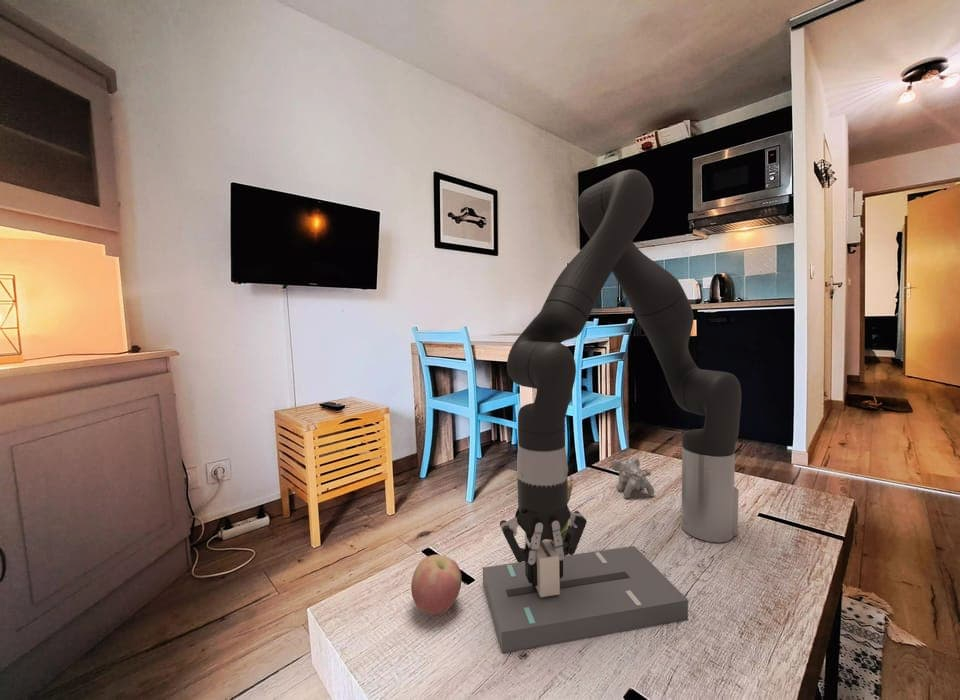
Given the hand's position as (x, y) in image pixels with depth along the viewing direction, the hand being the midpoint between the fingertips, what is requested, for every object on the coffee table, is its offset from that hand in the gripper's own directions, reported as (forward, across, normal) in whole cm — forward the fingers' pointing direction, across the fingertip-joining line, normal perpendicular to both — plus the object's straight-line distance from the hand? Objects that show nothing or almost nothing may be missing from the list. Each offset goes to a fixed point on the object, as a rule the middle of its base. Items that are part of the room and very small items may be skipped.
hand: (544, 580), depth 60 cm
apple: (+4, +16, -3) cm, 17 cm away
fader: (+1, 0, 0) cm, 1 cm away
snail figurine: (+4, -10, -19) cm, 22 cm away
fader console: (+4, -6, 0) cm, 7 cm away
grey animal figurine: (+5, -35, -34) cm, 49 cm away
